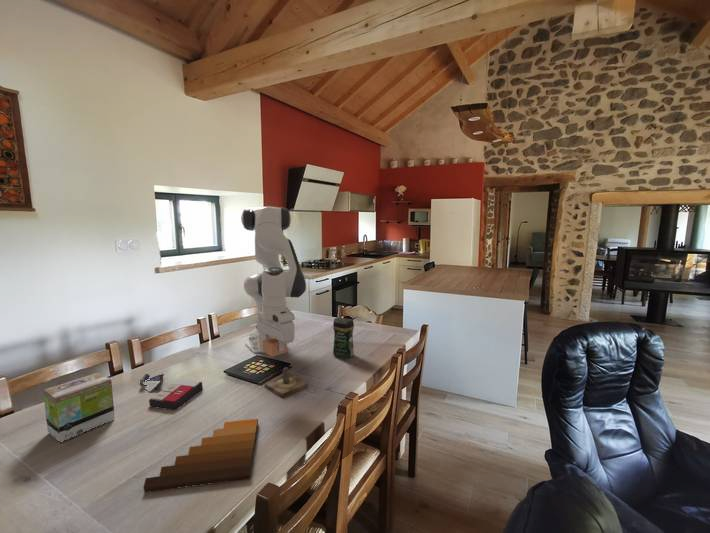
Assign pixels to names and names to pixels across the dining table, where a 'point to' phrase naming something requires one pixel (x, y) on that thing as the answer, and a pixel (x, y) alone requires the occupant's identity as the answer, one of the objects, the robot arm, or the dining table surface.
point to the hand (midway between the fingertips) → (274, 347)
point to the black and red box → (176, 394)
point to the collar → (272, 347)
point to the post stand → (286, 384)
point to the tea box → (78, 405)
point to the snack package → (156, 378)
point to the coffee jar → (343, 338)
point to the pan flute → (212, 459)
